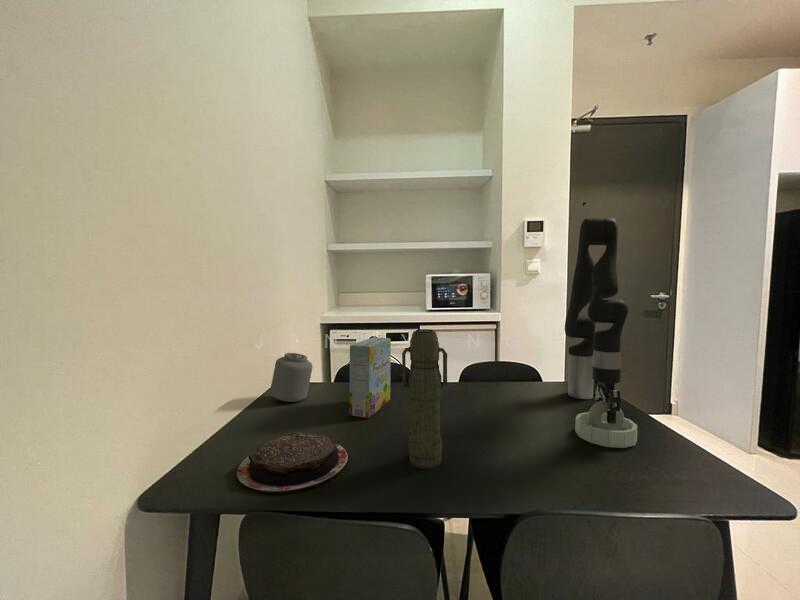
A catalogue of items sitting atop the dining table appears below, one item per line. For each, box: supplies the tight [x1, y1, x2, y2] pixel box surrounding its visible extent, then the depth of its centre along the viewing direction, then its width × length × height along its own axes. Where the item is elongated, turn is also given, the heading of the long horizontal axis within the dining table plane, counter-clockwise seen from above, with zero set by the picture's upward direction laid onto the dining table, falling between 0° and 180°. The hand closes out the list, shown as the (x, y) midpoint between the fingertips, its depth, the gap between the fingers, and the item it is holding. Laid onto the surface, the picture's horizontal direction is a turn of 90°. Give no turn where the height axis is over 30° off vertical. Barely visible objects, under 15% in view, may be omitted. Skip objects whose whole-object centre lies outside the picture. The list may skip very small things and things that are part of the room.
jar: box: [269, 338, 313, 403], centre depth 150 cm, size 19×15×25 cm
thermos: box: [401, 328, 448, 469], centre depth 98 cm, size 9×12×35 cm
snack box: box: [348, 336, 392, 419], centre depth 139 cm, size 22×9×26 cm, turn 161°
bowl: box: [574, 411, 638, 449], centre depth 112 cm, size 16×16×4 cm
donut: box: [588, 401, 625, 431], centre depth 112 cm, size 10×4×10 cm, turn 83°
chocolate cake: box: [236, 432, 349, 494], centre depth 97 cm, size 28×28×7 cm
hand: (605, 417), depth 112 cm, fingers open, 8 cm apart
